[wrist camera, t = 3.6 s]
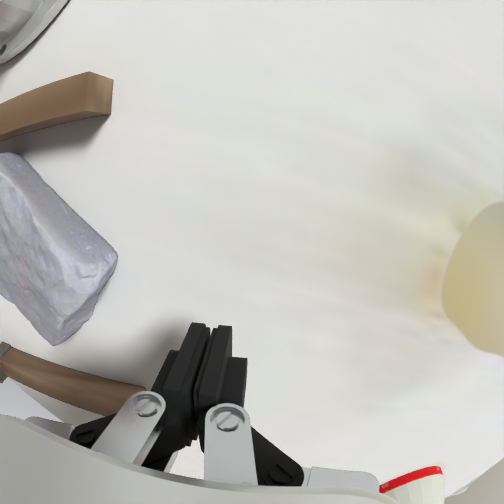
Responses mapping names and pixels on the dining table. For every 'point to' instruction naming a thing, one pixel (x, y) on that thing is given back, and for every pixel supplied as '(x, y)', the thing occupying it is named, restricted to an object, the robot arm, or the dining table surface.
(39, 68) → the dining table surface
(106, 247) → the stone block
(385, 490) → the white crested dome
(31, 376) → the walnut chute
